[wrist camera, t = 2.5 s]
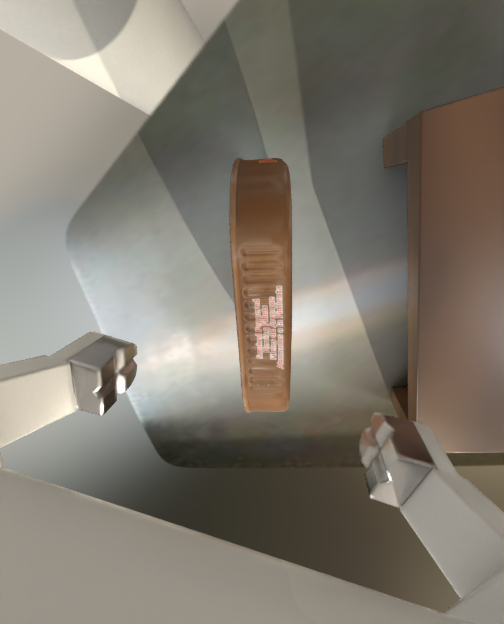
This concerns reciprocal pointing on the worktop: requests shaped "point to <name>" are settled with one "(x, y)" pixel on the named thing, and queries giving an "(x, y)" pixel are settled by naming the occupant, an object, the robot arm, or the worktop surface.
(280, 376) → the tin
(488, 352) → the shelf
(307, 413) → the worktop surface
